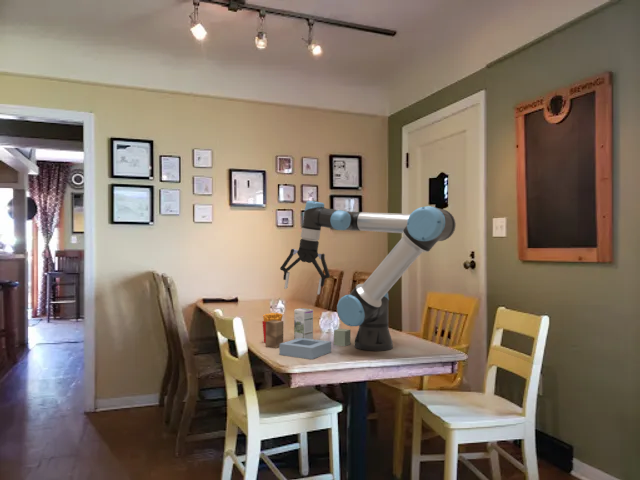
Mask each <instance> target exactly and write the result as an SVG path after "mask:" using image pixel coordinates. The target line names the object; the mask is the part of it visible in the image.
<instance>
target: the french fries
mask: <svg viewBox="0 0 640 480" xmlns="http://www.w3.org/2000/svg"><path fill="white" fill-rule="evenodd" d="M262 316H263V317H262V318H263V320H262V322H261V323H262V332H263V333H262V334H263V341H264V342H263V343H265V344H266V322H267V321H272V320H277V321H283V320H282V319H283V316H284V315H283V314H282V313H279V312H270V313H265V314H263V315H262Z"/></svg>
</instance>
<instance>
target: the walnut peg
mask: <svg viewBox="0 0 640 480" xmlns="http://www.w3.org/2000/svg"><path fill="white" fill-rule="evenodd" d="M281 343H284V320H282V321H277V320H272V321H267V322H266V343H265V348H271V349H280V344H281Z"/></svg>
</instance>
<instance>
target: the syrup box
mask: <svg viewBox="0 0 640 480" xmlns="http://www.w3.org/2000/svg"><path fill="white" fill-rule="evenodd" d="M293 311H294V312H293V313H294V315H293V319H294V320H293V322H294V323H293V324H294V326H293V331H294V332H293V335H294V336H293V340H294V339H297V338H306V339H314V309H312V308H311V309H310V308H303V307H301V308H295V309H294V310H293Z"/></svg>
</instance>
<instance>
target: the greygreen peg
mask: <svg viewBox="0 0 640 480" xmlns="http://www.w3.org/2000/svg"><path fill="white" fill-rule="evenodd" d="M351 331H352V330H351V329H349V328H337V329H334V330H333V345H334V346H339V347H340V346H341V347H347V346H350V345H351Z"/></svg>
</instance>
